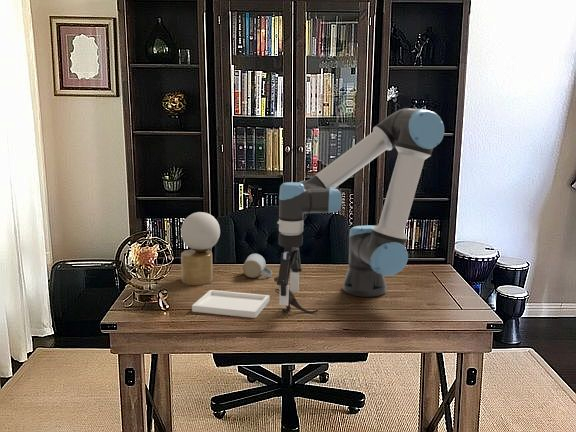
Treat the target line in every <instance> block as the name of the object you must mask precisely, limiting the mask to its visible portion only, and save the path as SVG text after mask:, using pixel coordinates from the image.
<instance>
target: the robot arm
mask: <svg viewBox="0 0 576 432" xmlns="http://www.w3.org/2000/svg"><path fill="white" fill-rule="evenodd" d="M444 135H445V125H444V122H443V120H442V118H441V117H440V115H438V113H436V112H435V111H431V110H428V109H424V108H408V107H404V108H402V109H398V110H397V111H395V112H393V113H392V114H389V115H388V116H387V117H386V118H384V119H383V120H382V121H380V122H379V123H377V124H376V125H375V126H374V127H373V128H372V132H371V133H369V134H368V135H366V136H365V137H364V138H362V139H361V140H360V141H359V142H358V143H356V144H355V145H353V146H352V147H351V148H349V149H348V150H347V151H345V152H344V153H343V154H341V155H340V156H339V157H337V158H336V159H334V160H333V161H332V162H331V163H329V164H328V165H326V167H324V168H322V169H321V170H320V171H318V172H317V173H316V174H315V175H313V176H312V177H310V178H309V179H307V180H306V179H305V180H300V181H299V182H297V181H295V182H294V181H290V182H288V181H287V182H282V183H281V185H280V186H279V193H278V194H279V195H278V199H279V200H278V209H279V210H278V211H279V212H278V221H277V224H278V232H279V233H278V243H277V244H278V245H279V246H280V247H283V248H284V250H283V251H282V252H281V253H280V264H279V271H278V276H279V277H278V276H277V277H278V282H276V285H277V286H279V285H280V290H279V291H278V292H279V294H278V295H279V297H278V299H279V301H278V302H279V303H278V305H279V306H285V307H286V306H288V299H289V290H290V291H291V292H292V293H293V292H294V293H299V291H300V287H299V286H300V283H299V282H300V273H302V270H303V268H302V264H301V255H300V247H301V246H303V241H304V240H303V239H304V235H303V232H304V215H305V214H323V213H324V214H327V213H328V214H330V213H337V212H339V211H340V209H341V208H342V204H343V203H342V202H343V198H342V197H343V196H342V194H341V191H340V190H339V189H338V186H340V185H341V184H343V183H344V182H345V181H346V180H348V179H350V178H351V177H352V176H353V175H355V173H357V172H359V171H360V170H362V169H363V168H364V167H365V166H367V165H369V163H371V162H372V161H373V160H374V159H376V158H377V157H379V156H380V155H382V154H383V153H385V151H392V150H393V149H396V151H397V156H396V157H397V158H396V160H395V164H394V168H393V171H392V175H391V178H390V182H389V185H388V190H387V192H386V196H385V200H384V204H383V207H382V209H381V214H380V217H379V222H378V223H377V225H366V224H365V225H356V226H353V227H351V228H350V229H349V235H348V241H349V242H348V269H347V271H346V274H345V277H344V280H343V282H342V290H343V292H345V293H346V294H348V295H351V296H355V297H364V298H365V297H367V298H368V297H371V298H372V297H378V296H383V295H384V294H386V293H387V283H386V279H385V277H391V276H396V275H397V274H398V273H400V272H401V271H403V270H404V268H405V267H406V266H407V263H408V259H409V253H408V251H407V248H406V244H407V240H408V236H407V234H406V233H405V230H406V226H407V223H408V220H409V217H410V213H411V209H412V205H413V202H414V199H415V195H416V191H417V187H418V185H419V181H420V178H421V174H422V170H423V168H424V163H425V160H427V159H428V158H430V157H432V153H433V151H434V148H436V147H437V146H438V145H440V143H441V142H442V141H443V139H444ZM282 280H283V281H282Z"/></svg>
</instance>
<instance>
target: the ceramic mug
mask: <svg viewBox="0 0 576 432" xmlns="http://www.w3.org/2000/svg"><path fill="white" fill-rule="evenodd" d="M266 265H267V264H266V260H265V258H264V257H263V256H262V255H261V254H259V253H251V254H250V255H248V256H247V258H246V259H245V261H244V262H243V265H242V270H243V273H244V275H245V276H247V277H248V278H251V279H256V278H258V277H259V276H261V277H264V278H271V277H272V275H273V272H272V270H271V269H270V268H268V267H267V266H266Z"/></svg>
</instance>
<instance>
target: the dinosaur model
mask: <svg viewBox="0 0 576 432" xmlns="http://www.w3.org/2000/svg"><path fill="white" fill-rule="evenodd" d="M278 277H279V275H277V276H275V277H274V278H273V280H274V281H273V282H275V283H277V282H278ZM282 281H283V280H282ZM278 287H279V288H275V289H274V291H275V293H277V294H278V295H279V290H280V285H278ZM291 306H292V307H294V308H296V309H298V310H300V311H301V312H304V313H306V314H307V313H309V314H312V313H313V314H315V313H318V312H319V309H316V310H313V311H312V310H307V309H306V308H304V307H303V306H301V305H300V304H299V302H298V301H297V298H296V297H295V295H294V293H293V292H292V291H290V289H289V299H288V306H285V307H286V308H285V309H284V308H281V314H282V315H285V314H287V313H288V312H291V309H292V307H291Z"/></svg>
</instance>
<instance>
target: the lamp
mask: <svg viewBox="0 0 576 432" xmlns="http://www.w3.org/2000/svg"><path fill="white" fill-rule="evenodd" d="M220 227H221V226H220V224H219V221H218V220H217V219H216V218H215V216H213V215H212V214H210V213H208V212H202V211H197V212H193V213H191V214H190V215H188V216H187V217H186V218H185V219H184V220H183V222H182V224H181V227H180V237H181V239H182V241H183V243H184V245H186V246H187V247H188V248H189V249H187V250H184V251H182V252H181V253H180V263H181V265H180V268H181V269H180V271H181V282H182V283H183V284H184V285H187V286H203V285H208V284H210V283H212V282H213V275H214V273H213V270H214V269H213V252H212V251H211V249H212V248H213V247H214V246H215V245H216V244H217V243H218V242H219V238H220V236H221V228H220Z"/></svg>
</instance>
